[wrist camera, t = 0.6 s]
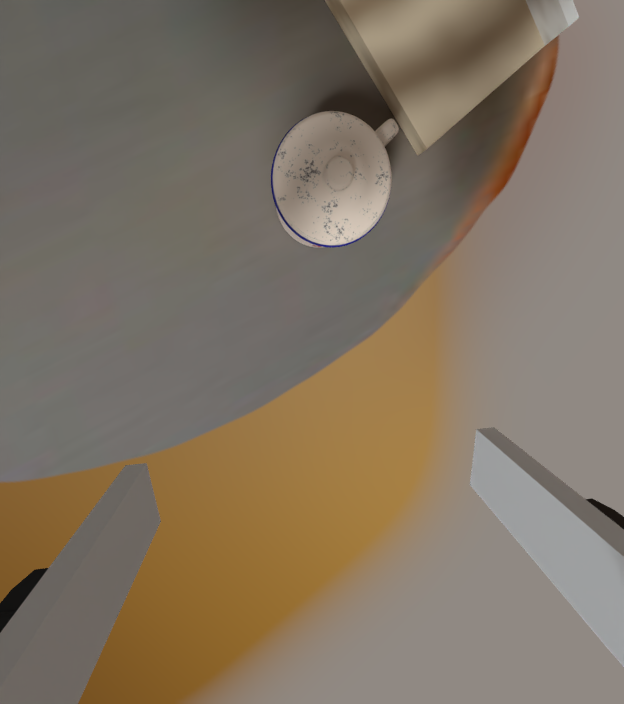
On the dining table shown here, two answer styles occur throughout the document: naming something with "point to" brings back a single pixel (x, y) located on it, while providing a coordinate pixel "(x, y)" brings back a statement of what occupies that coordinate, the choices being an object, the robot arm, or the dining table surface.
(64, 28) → the dining table surface
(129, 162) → the dining table surface
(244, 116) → the dining table surface
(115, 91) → the dining table surface
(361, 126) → the teacup with lid
